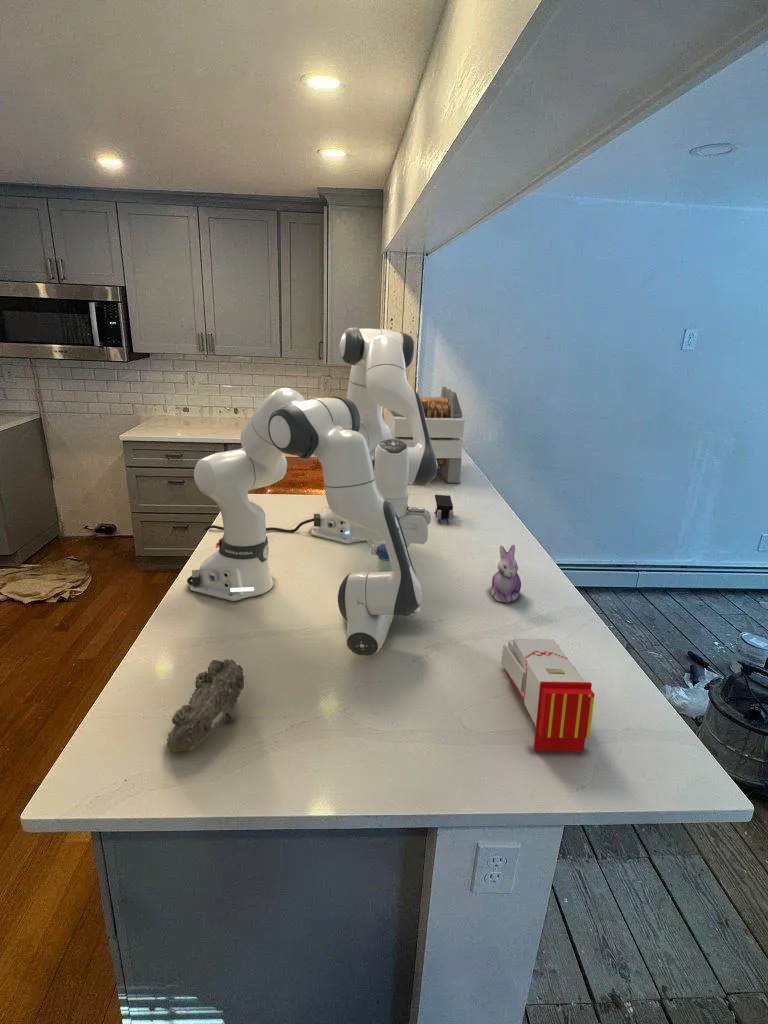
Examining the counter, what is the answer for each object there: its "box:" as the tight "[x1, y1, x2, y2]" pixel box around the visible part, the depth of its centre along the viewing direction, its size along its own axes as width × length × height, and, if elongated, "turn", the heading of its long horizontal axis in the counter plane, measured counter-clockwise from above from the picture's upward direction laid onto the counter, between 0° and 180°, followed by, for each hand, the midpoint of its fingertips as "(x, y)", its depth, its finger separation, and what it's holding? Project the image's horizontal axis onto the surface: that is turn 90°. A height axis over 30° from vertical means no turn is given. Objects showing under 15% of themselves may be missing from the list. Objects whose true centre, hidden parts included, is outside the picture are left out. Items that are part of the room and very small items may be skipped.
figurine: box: [490, 544, 522, 603], centre depth 157 cm, size 9×10×15 cm
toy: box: [500, 637, 595, 752], centre depth 114 cm, size 12×13×30 cm
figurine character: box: [433, 494, 454, 524], centre depth 215 cm, size 7×8×15 cm
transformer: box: [385, 386, 465, 484], centre depth 268 cm, size 34×33×41 cm
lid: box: [376, 543, 389, 559], centre depth 147 cm, size 6×6×2 cm
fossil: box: [166, 658, 245, 754], centre depth 106 cm, size 22×10×15 cm
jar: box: [377, 556, 393, 572], centre depth 150 cm, size 5×5×15 cm
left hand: (386, 585), depth 151 cm, fingers closed on jar, 5 cm apart
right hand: (387, 555), depth 148 cm, fingers closed on lid, 6 cm apart
